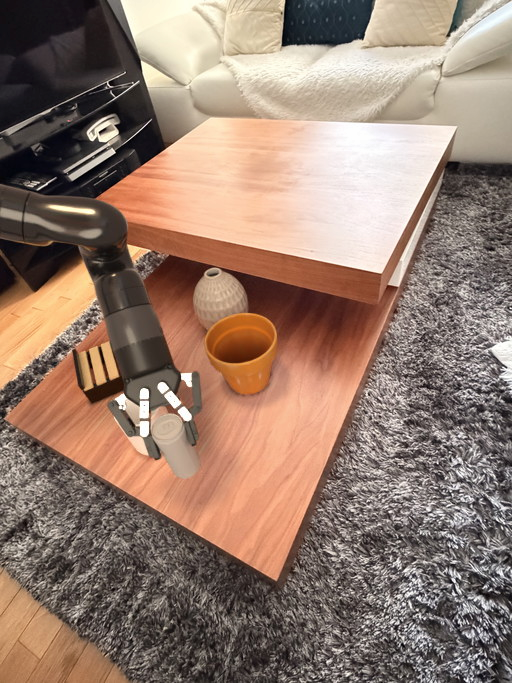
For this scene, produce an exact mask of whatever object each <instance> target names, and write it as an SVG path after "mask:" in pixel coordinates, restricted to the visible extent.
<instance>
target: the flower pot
mask: <svg viewBox="0 0 512 683" xmlns="http://www.w3.org/2000/svg"><path fill="white" fill-rule="evenodd" d="M278 341H279V340H278V332H277V328H276V327H275V325H274V323H273V322H272V321H271V320H270V319H268V318H267V317H265V316H263V315H261V314H258V313H252V312H248V313H239V314H234V315H230V316H228V317H225V318H223V319H221V320H220V321H218V322H217V323H215V324H214V325H213V326H212V327H211V328H210V329H209V331H208V330H207V332H206V334H205V337H204V342H203V343H204V344H203V346H204V350H205V354H206V356H207V358H208V361H209V362H210V363H209V364H211V366H212V368H214V370H216V371H217V372H219V373H220V374H221V375H222V377H224V380H225V381H226V382H227V383H228V385H229V386H230V388H231V389H232V390H233V391H234V392H236V393H238V394H240V395H245V396H247V395H248V396H249V395H254V394H258V393H259V392H261V391H263V390H264V389H265V388H266V387H267V386H268V384H269V381H270V376H271V371H272V365H273V362H274V360H275V358H276V357H277V355H278V354H277V353H278V347H279V346H278V343H279V342H278Z"/></svg>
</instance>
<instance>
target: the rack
mask: <svg viewBox="0 0 512 683" xmlns="http://www.w3.org/2000/svg"><path fill="white" fill-rule="evenodd" d="M109 342H110V341H109V340H108V341H106V342H104V343H101V344H100V346H98V345H96V346H93V347H91V348H88V351H86V350H83V351H80V352H78V350H77V349H76V348H73V349H71V353H72V358H73V364H74V369H75V375H76V381H77V387H78V388H79V389H80V390H81V391H82V393H83V395H85V397H86V398H87V400H88V401H89V402H90V404H91V405H93V404H95V403H97V402H101V401H102V400H104V399H107V398H109V397H111V396H114V395H116V394H118V393H120V392H124V381H123V378H122V375H121V372H119V368H118V365H117V361H116V358H115V355H114V352H113V349H112V348H111V346H110V343H109ZM104 364H105V367H106V370H107V374H108V377H107V376H106V373H105V368H104ZM91 370H93V375H94V380H95V383H94V380H93V376H92V372H91Z"/></svg>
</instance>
